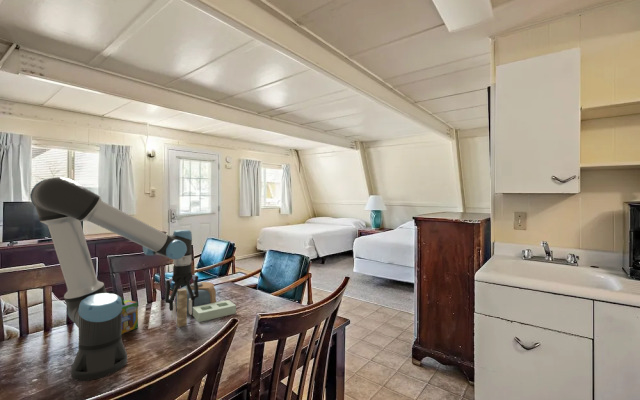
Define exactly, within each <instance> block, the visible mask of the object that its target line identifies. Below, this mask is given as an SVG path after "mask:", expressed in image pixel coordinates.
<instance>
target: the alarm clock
mask: <svg viewBox="0 0 640 400" xmlns="http://www.w3.org/2000/svg"><path fill="white" fill-rule="evenodd" d="M190 287H191V289H192V292H193V295H194V283H193V282H192V283H191V284H190ZM183 288H186V289H187V287H186V285H183V286H182V287H181V288H180V287H179V289H183ZM198 293H199V296H198V297H196V298H195V300H194V306H192V313H193V307H196V306H201V305H206V304H211V303H216V302H218V301H217V298H216V297H217V295H216V293H217V291H216V288H215V284H213V283H212V282H209V281H200V282H199V281H198ZM190 298H191V297H190V295H189V292H188V289H187V313H189V299H190ZM175 308H177V293H176V296H175Z"/></svg>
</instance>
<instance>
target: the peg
mask: <svg viewBox="0 0 640 400" xmlns="http://www.w3.org/2000/svg"><path fill="white" fill-rule="evenodd" d="M176 326H177V327H178V328H182V327H186V326H188V312H187V289H186V288H183V289H180V288H178V290H177V307H176Z"/></svg>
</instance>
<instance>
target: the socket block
mask: <svg viewBox="0 0 640 400" xmlns="http://www.w3.org/2000/svg"><path fill="white" fill-rule="evenodd" d="M235 314H237V305H236V304H235V303H234V302H232V301H230V299H227V300H222V301H217V302H216V303H211V304H206V305H201V306H196V307H193V312H192V316H193V318H195V320H196V321H197V322H198V323H200V322H205V321H209V320H212V319H213V320H214V319H217V318H222V317H225V316H230V315H235Z"/></svg>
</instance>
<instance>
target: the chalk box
mask: <svg viewBox="0 0 640 400" xmlns="http://www.w3.org/2000/svg"><path fill="white" fill-rule="evenodd" d="M120 298H121V300H122V306H123V307H122V334H121V335H124V334H125V333H128V332H130V331H133V330H135V329H138V328H139V312H138V311H139V308H138V307H139V305H138V301H134V300H129V299H124V298H123V297H122V296H120Z"/></svg>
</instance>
